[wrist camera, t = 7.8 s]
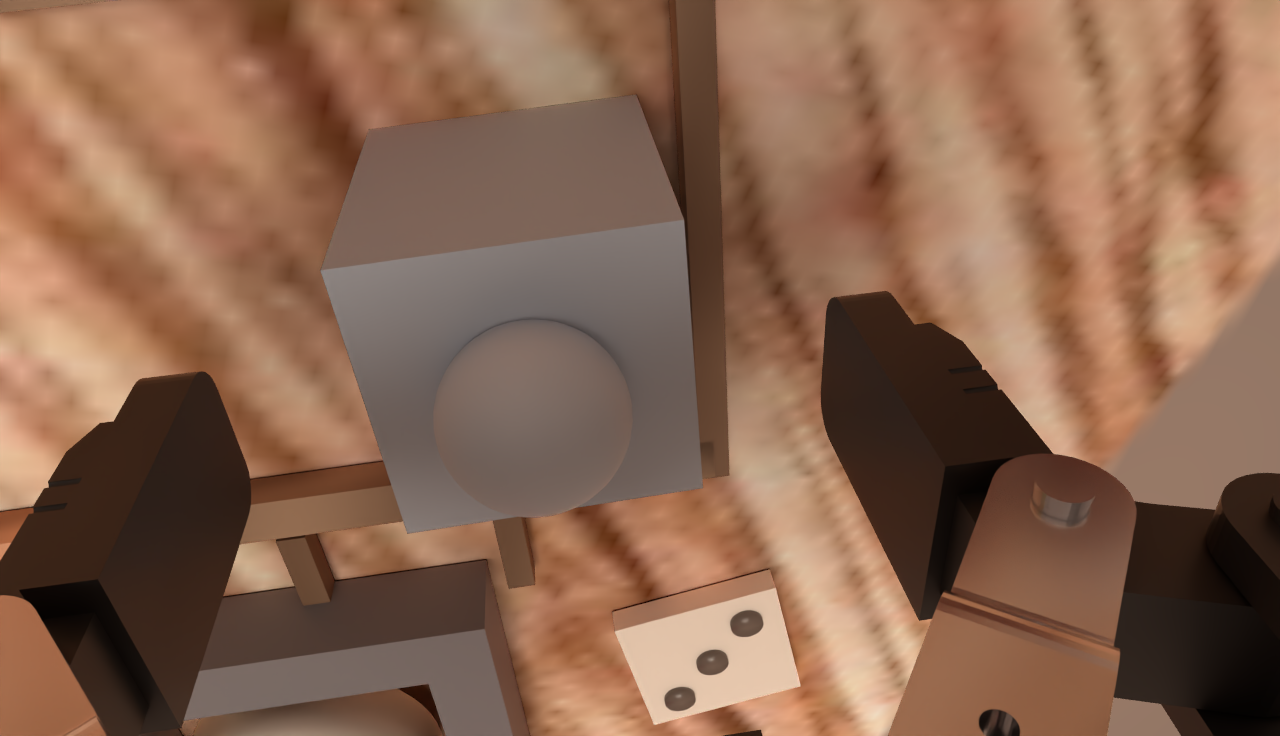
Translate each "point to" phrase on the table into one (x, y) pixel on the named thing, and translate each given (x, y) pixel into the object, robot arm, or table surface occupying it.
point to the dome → (330, 718)
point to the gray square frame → (367, 649)
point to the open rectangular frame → (368, 499)
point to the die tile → (708, 647)
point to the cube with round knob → (519, 312)
